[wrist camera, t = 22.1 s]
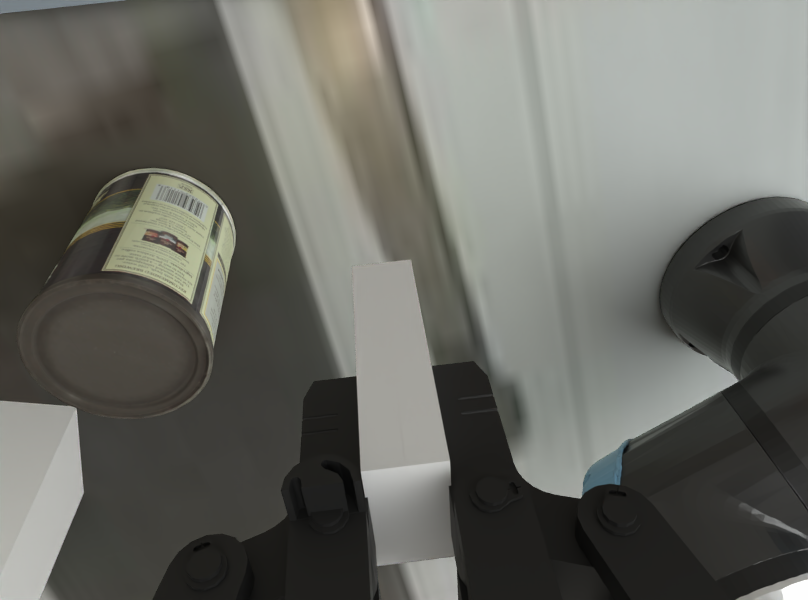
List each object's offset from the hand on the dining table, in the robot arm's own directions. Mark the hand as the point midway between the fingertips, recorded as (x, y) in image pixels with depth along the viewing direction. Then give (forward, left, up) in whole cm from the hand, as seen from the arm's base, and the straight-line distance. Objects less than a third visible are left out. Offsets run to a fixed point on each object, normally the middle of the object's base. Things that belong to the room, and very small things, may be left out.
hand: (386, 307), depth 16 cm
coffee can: (+15, +12, -29) cm, 35 cm away
